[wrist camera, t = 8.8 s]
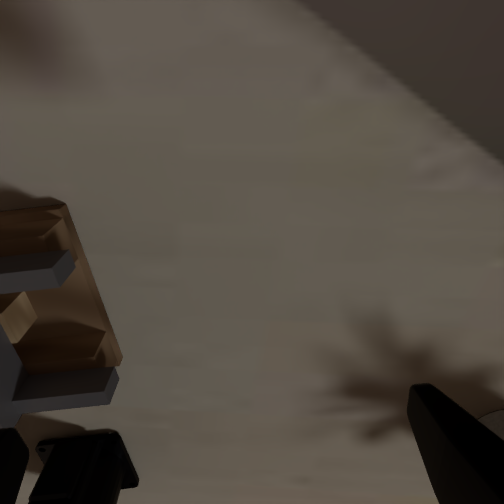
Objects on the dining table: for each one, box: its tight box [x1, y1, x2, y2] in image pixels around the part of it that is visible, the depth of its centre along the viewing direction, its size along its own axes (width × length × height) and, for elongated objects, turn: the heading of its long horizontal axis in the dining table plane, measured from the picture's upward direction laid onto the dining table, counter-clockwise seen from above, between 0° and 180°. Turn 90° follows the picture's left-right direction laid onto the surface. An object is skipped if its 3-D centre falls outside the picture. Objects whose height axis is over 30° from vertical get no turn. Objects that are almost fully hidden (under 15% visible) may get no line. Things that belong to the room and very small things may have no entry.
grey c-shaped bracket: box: [0, 249, 119, 428], centre depth 18 cm, size 9×7×3 cm
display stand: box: [0, 204, 123, 375], centre depth 20 cm, size 11×7×3 cm, turn 6°
